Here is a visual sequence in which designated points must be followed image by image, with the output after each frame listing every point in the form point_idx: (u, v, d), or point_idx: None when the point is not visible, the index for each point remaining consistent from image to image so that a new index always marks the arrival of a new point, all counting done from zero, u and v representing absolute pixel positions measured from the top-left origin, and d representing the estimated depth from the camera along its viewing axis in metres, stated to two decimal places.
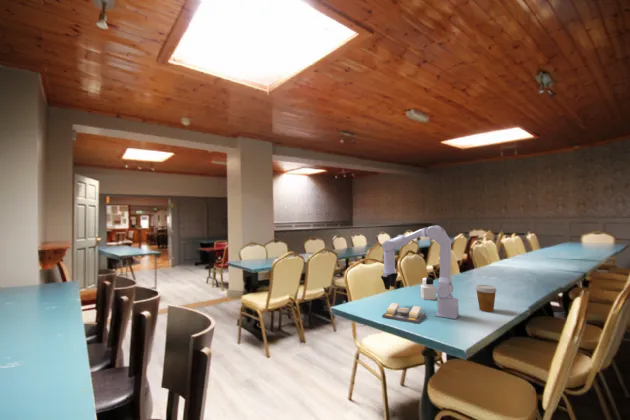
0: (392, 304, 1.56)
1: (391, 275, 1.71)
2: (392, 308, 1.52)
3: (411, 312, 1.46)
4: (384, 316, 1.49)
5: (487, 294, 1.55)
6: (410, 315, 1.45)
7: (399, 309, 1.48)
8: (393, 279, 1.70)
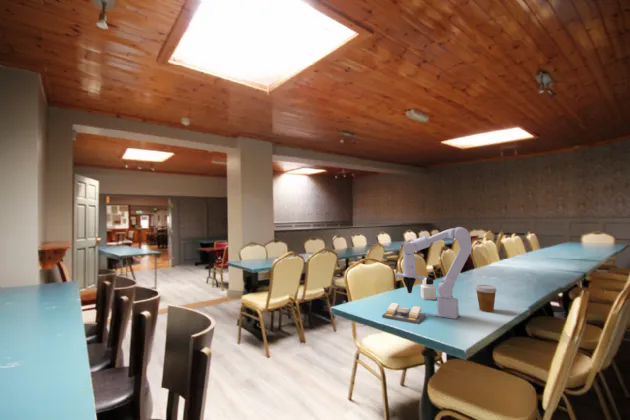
0: (392, 304, 1.56)
1: None
2: (392, 308, 1.52)
3: (411, 312, 1.46)
4: (384, 316, 1.49)
5: (487, 294, 1.55)
6: (410, 315, 1.45)
7: (399, 309, 1.48)
8: None
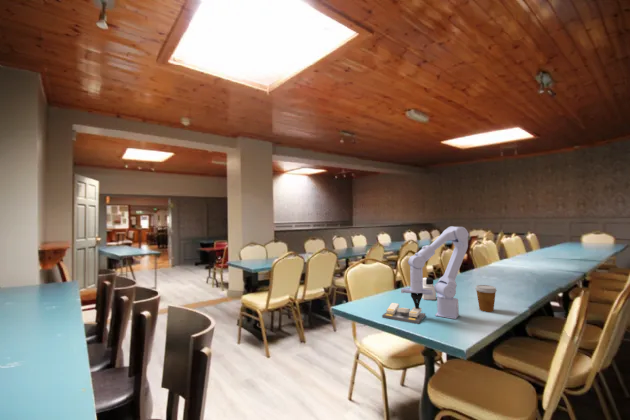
0: (392, 304, 1.56)
1: (417, 296, 1.51)
2: (392, 308, 1.52)
3: (411, 311, 1.46)
4: (384, 316, 1.49)
5: (487, 294, 1.55)
6: (410, 314, 1.45)
7: (399, 309, 1.48)
8: None
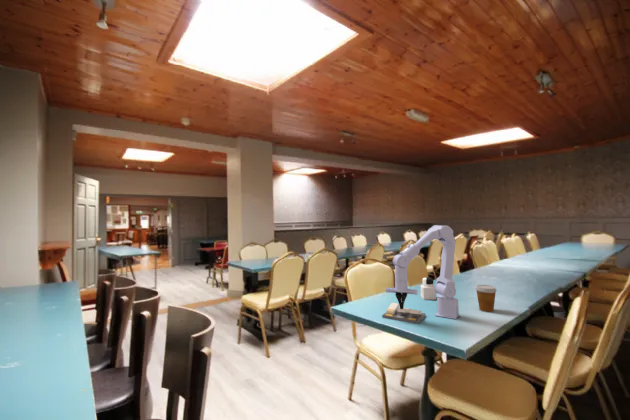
0: (392, 304, 1.56)
1: None
2: (392, 308, 1.52)
3: (411, 309, 1.46)
4: (384, 316, 1.49)
5: (487, 294, 1.55)
6: (410, 311, 1.45)
7: (399, 309, 1.48)
8: None
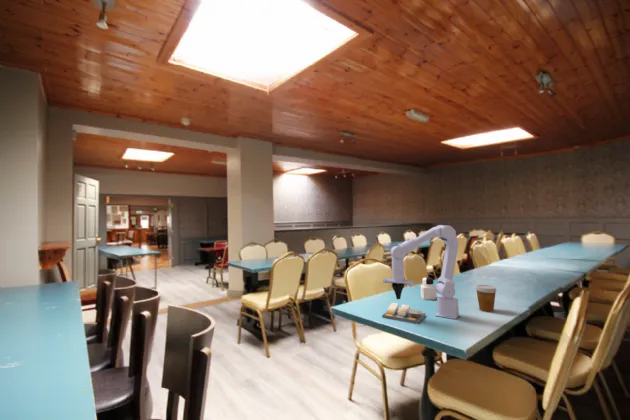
0: (392, 304, 1.56)
1: None
2: (392, 308, 1.52)
3: (411, 309, 1.46)
4: (384, 316, 1.49)
5: (487, 294, 1.55)
6: (410, 311, 1.45)
7: (399, 313, 1.48)
8: None
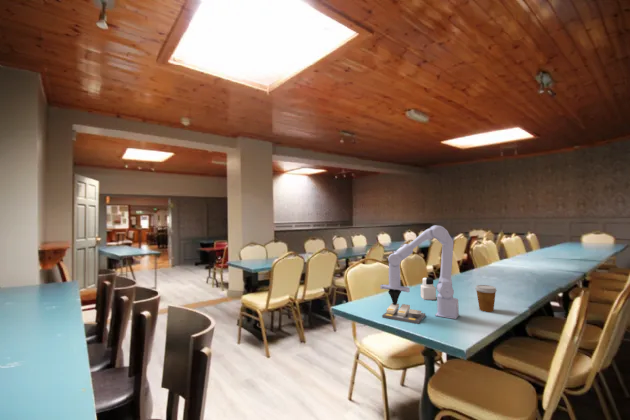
0: (392, 304, 1.56)
1: None
2: (392, 308, 1.52)
3: (411, 309, 1.46)
4: (384, 316, 1.49)
5: (487, 294, 1.55)
6: (410, 311, 1.45)
7: (399, 313, 1.48)
8: None
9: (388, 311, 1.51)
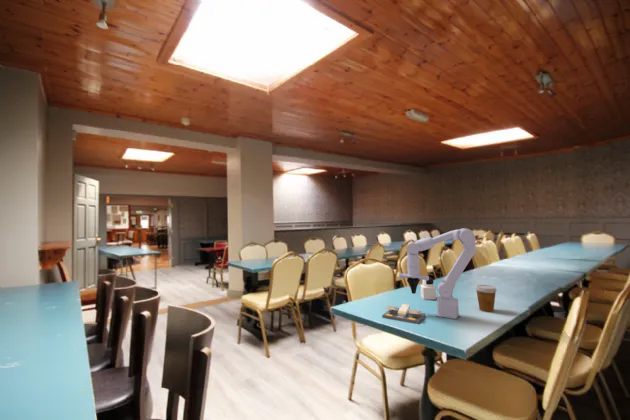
0: None
1: None
2: None
3: (411, 309, 1.46)
4: (384, 316, 1.49)
5: (487, 294, 1.55)
6: (410, 311, 1.45)
7: (399, 313, 1.48)
8: None
9: (388, 307, 1.51)
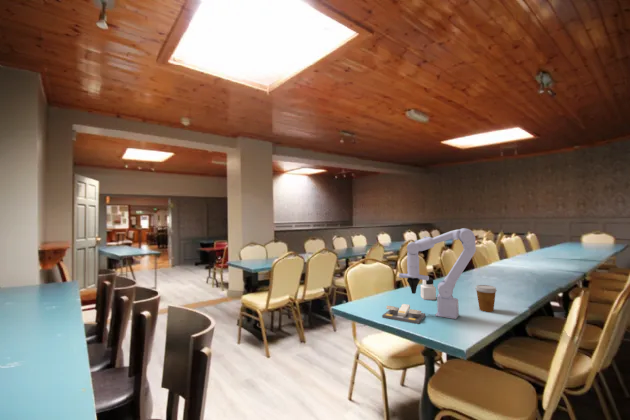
0: None
1: None
2: None
3: (411, 309, 1.46)
4: (384, 316, 1.49)
5: (487, 294, 1.55)
6: (410, 311, 1.45)
7: (399, 313, 1.48)
8: None
9: (388, 307, 1.51)
